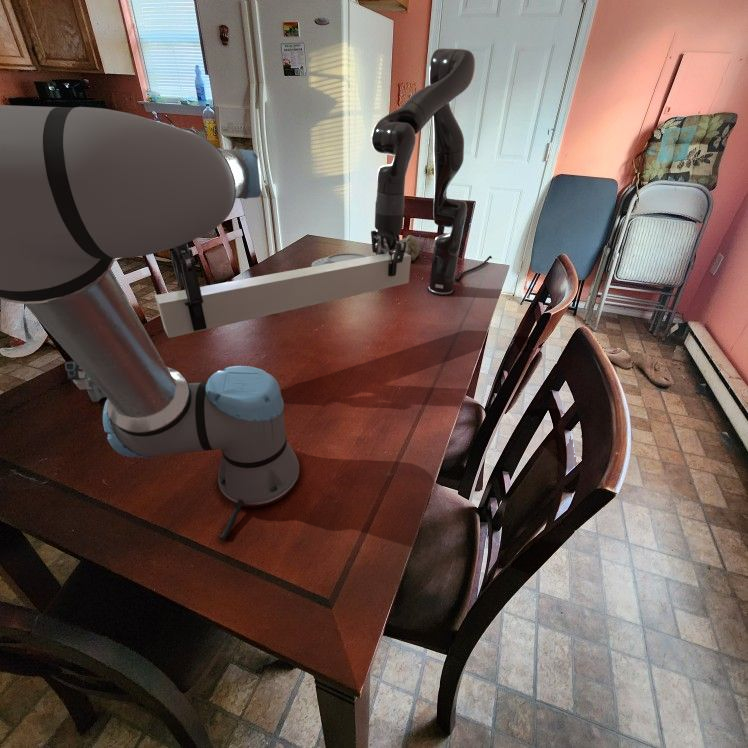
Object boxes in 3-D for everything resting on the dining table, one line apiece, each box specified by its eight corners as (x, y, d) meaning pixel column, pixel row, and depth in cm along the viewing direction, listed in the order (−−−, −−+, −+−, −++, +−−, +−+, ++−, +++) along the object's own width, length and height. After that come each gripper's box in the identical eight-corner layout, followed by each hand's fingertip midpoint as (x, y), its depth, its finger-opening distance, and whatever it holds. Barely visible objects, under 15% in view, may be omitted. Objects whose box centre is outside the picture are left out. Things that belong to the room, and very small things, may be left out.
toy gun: (65, 406, 86) (58, 359, 85) (102, 400, 104) (96, 361, 104) (85, 404, 87) (78, 357, 86) (118, 398, 105) (112, 359, 105)
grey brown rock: (426, 260, 191) (417, 258, 177) (404, 265, 195) (393, 264, 182) (423, 235, 189) (413, 231, 176) (400, 241, 194) (388, 237, 180)
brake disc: (393, 279, 165) (394, 268, 162) (319, 285, 157) (318, 273, 154) (371, 254, 190) (371, 244, 187) (306, 258, 182) (305, 247, 180)
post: (168, 338, 90) (158, 303, 86) (164, 328, 94) (154, 295, 89) (408, 283, 121) (411, 255, 116) (398, 277, 125) (400, 250, 120)
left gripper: (204, 228, 77) (225, 336, 90) (182, 207, 90) (203, 306, 103) (161, 232, 74) (189, 345, 87) (144, 210, 86) (171, 312, 99)
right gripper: (417, 215, 105) (411, 278, 115) (385, 203, 115) (382, 262, 124) (393, 218, 101) (389, 283, 111) (363, 205, 111) (361, 266, 121)
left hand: (196, 323), depth 95 cm, fingers closed on post, 5 cm apart
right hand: (386, 272), depth 118 cm, fingers closed on post, 5 cm apart
